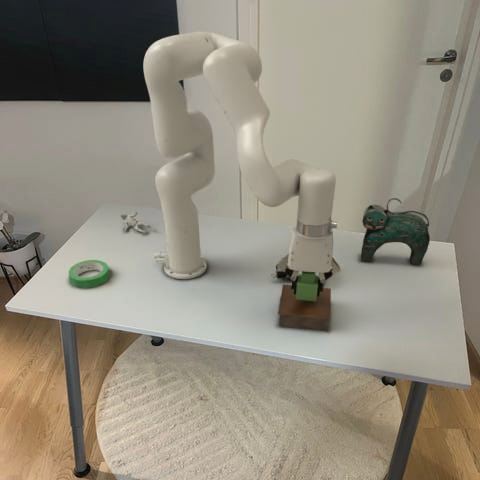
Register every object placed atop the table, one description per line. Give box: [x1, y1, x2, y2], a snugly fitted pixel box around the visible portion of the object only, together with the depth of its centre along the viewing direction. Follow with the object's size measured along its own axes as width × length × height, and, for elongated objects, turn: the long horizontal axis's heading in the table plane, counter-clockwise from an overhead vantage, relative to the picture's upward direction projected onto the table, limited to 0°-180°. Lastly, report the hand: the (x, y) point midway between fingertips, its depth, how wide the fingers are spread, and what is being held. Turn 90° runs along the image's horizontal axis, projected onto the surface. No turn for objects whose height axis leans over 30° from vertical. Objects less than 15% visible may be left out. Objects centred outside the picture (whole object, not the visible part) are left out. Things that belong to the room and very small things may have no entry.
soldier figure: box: [120, 211, 151, 235], centre depth 156 cm, size 8×5×12 cm
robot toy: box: [270, 257, 319, 280], centre depth 132 cm, size 12×4×15 cm
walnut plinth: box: [277, 284, 332, 332], centre depth 118 cm, size 13×13×4 cm
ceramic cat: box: [360, 197, 431, 266], centre depth 134 cm, size 20×6×20 cm, turn 80°
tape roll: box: [68, 259, 111, 289], centre depth 133 cm, size 11×11×3 cm
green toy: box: [296, 271, 318, 301], centre depth 113 cm, size 5×5×7 cm
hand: (306, 291), depth 115 cm, fingers closed on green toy, 5 cm apart
